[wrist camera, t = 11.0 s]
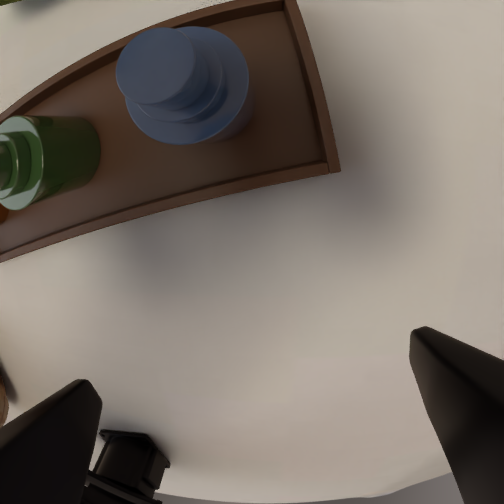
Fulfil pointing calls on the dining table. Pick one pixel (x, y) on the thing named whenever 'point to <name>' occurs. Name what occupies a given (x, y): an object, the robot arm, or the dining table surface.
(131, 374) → the dining table surface
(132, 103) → the blue bottle
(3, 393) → the skull
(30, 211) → the tray
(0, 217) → the amber bottle
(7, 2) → the apple
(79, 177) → the green bottle
